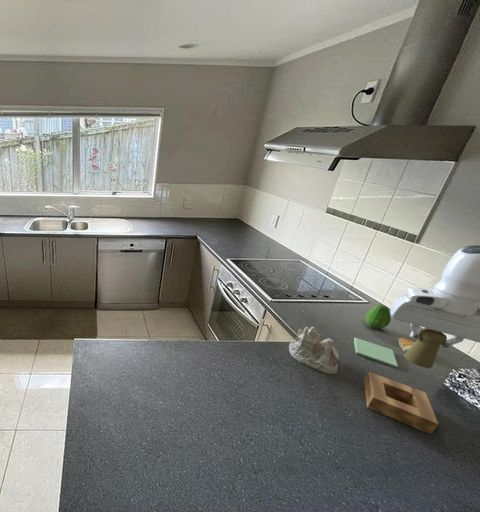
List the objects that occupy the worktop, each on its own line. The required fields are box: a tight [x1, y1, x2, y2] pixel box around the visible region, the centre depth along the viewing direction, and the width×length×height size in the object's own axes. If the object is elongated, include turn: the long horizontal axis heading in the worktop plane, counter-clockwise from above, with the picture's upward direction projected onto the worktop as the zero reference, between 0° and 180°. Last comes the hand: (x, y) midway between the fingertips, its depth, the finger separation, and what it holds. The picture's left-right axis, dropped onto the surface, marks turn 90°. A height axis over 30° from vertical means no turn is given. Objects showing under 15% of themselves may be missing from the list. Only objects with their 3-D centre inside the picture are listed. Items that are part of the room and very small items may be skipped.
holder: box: [362, 370, 439, 435], centre depth 90 cm, size 14×14×4 cm
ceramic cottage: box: [288, 326, 340, 375], centre depth 108 cm, size 16×16×15 cm
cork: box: [403, 327, 448, 369], centre depth 83 cm, size 6×6×11 cm
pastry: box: [398, 337, 416, 353], centre depth 117 cm, size 9×7×4 cm
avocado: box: [365, 304, 392, 329], centre depth 128 cm, size 8×8×12 cm
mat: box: [353, 337, 399, 369], centre depth 114 cm, size 12×12×1 cm
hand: (428, 341), depth 83 cm, fingers closed on cork, 5 cm apart
